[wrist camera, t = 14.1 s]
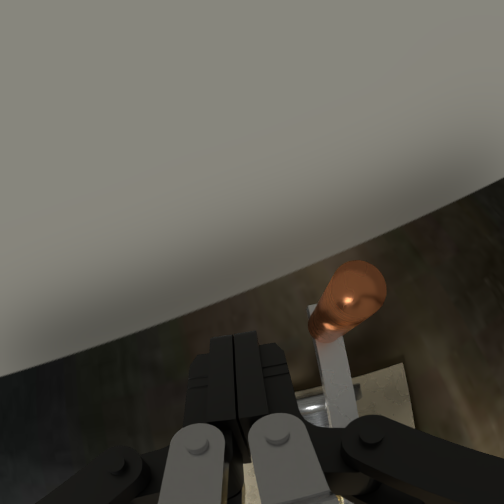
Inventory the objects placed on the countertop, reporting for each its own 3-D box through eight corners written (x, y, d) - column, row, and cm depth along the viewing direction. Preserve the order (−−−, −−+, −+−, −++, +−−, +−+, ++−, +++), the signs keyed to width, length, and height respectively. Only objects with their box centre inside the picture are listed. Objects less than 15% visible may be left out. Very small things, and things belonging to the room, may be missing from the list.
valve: (397, 363, 29) (451, 350, 19) (418, 521, 20) (464, 555, 10) (216, 404, 29) (189, 415, 19) (253, 564, 20) (245, 619, 9)
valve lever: (374, 515, 14) (426, 571, 5) (337, 526, 14) (371, 593, 5) (337, 303, 21) (378, 248, 12) (299, 311, 21) (318, 260, 12)
